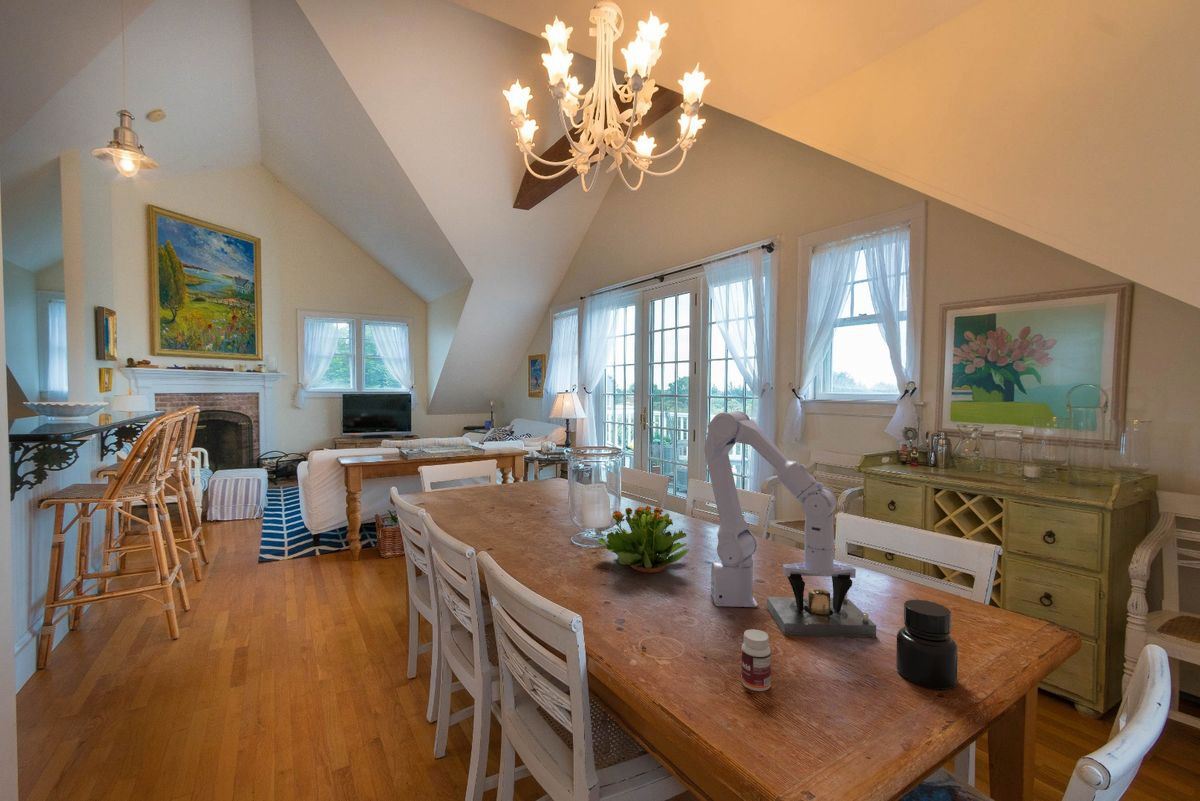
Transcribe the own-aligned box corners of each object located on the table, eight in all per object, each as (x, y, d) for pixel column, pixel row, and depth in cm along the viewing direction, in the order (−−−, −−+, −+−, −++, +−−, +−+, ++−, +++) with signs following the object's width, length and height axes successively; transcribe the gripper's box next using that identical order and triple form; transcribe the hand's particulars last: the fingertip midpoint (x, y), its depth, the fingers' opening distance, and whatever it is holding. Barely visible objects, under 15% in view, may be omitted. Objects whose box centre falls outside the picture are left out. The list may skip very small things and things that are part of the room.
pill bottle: (736, 676, 88) (737, 628, 88) (763, 675, 89) (764, 627, 89) (747, 693, 84) (747, 642, 83) (775, 691, 84) (775, 641, 84)
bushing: (810, 626, 107) (810, 595, 107) (805, 617, 111) (805, 587, 111) (832, 627, 106) (832, 596, 106) (826, 618, 111) (826, 588, 111)
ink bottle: (972, 686, 86) (973, 615, 85) (934, 697, 83) (936, 623, 82) (918, 657, 95) (919, 593, 94) (882, 666, 92) (883, 600, 91)
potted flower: (670, 549, 157) (670, 493, 157) (713, 576, 135) (714, 510, 135) (594, 559, 149) (594, 499, 148) (626, 589, 126) (627, 518, 126)
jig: (784, 635, 103) (784, 615, 103) (766, 607, 116) (767, 589, 116) (876, 637, 102) (876, 617, 102) (848, 609, 115) (848, 591, 115)
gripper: (790, 551, 105) (789, 616, 105) (862, 552, 104) (861, 618, 105) (779, 541, 112) (779, 602, 113) (847, 542, 111) (846, 604, 112)
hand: (818, 609), depth 109 cm, fingers open, 7 cm apart
